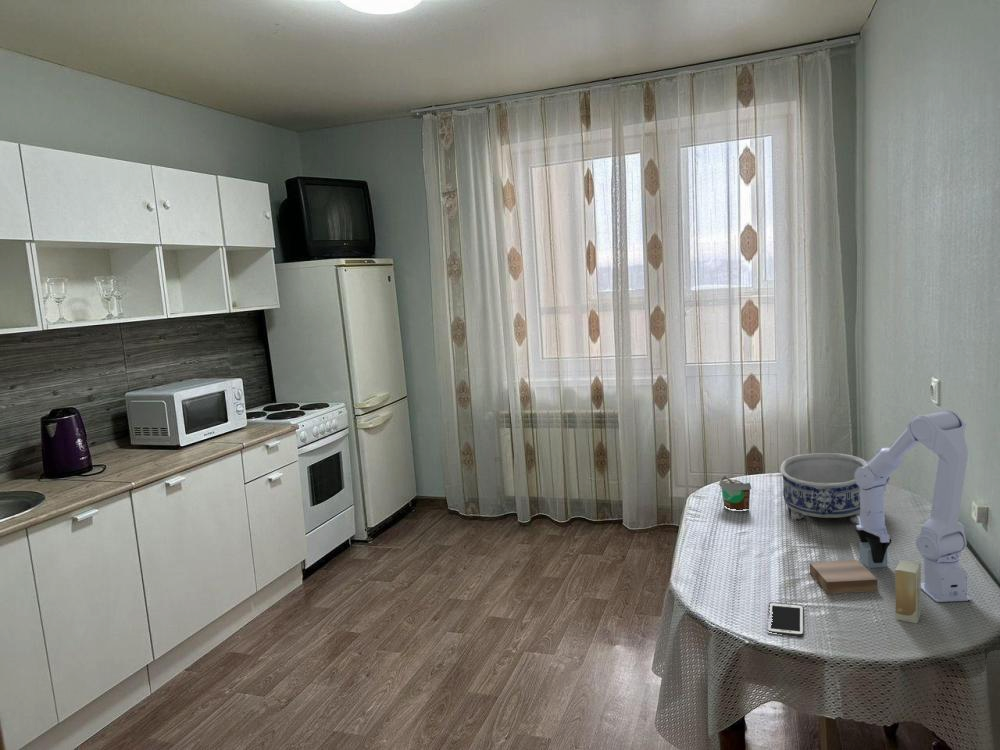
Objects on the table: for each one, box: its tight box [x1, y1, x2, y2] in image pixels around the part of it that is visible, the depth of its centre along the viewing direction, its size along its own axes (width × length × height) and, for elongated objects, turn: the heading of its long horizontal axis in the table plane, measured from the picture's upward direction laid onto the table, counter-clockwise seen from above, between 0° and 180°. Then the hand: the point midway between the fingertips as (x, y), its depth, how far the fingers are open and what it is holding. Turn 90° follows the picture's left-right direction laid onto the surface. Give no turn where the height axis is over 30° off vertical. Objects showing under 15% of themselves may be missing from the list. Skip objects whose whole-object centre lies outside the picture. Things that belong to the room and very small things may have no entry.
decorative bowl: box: [779, 452, 868, 525], centre depth 229 cm, size 42×27×15 cm, turn 156°
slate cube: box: [858, 542, 888, 568], centre depth 187 cm, size 5×5×5 cm
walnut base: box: [809, 559, 879, 594], centre depth 178 cm, size 12×12×3 cm
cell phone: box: [766, 601, 805, 638], centre depth 162 cm, size 8×15×1 cm, turn 157°
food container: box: [718, 475, 752, 510], centre depth 237 cm, size 12×6×10 cm, turn 25°
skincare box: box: [894, 559, 922, 624], centre depth 158 cm, size 6×4×12 cm
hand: (873, 558), depth 187 cm, fingers closed on slate cube, 5 cm apart
